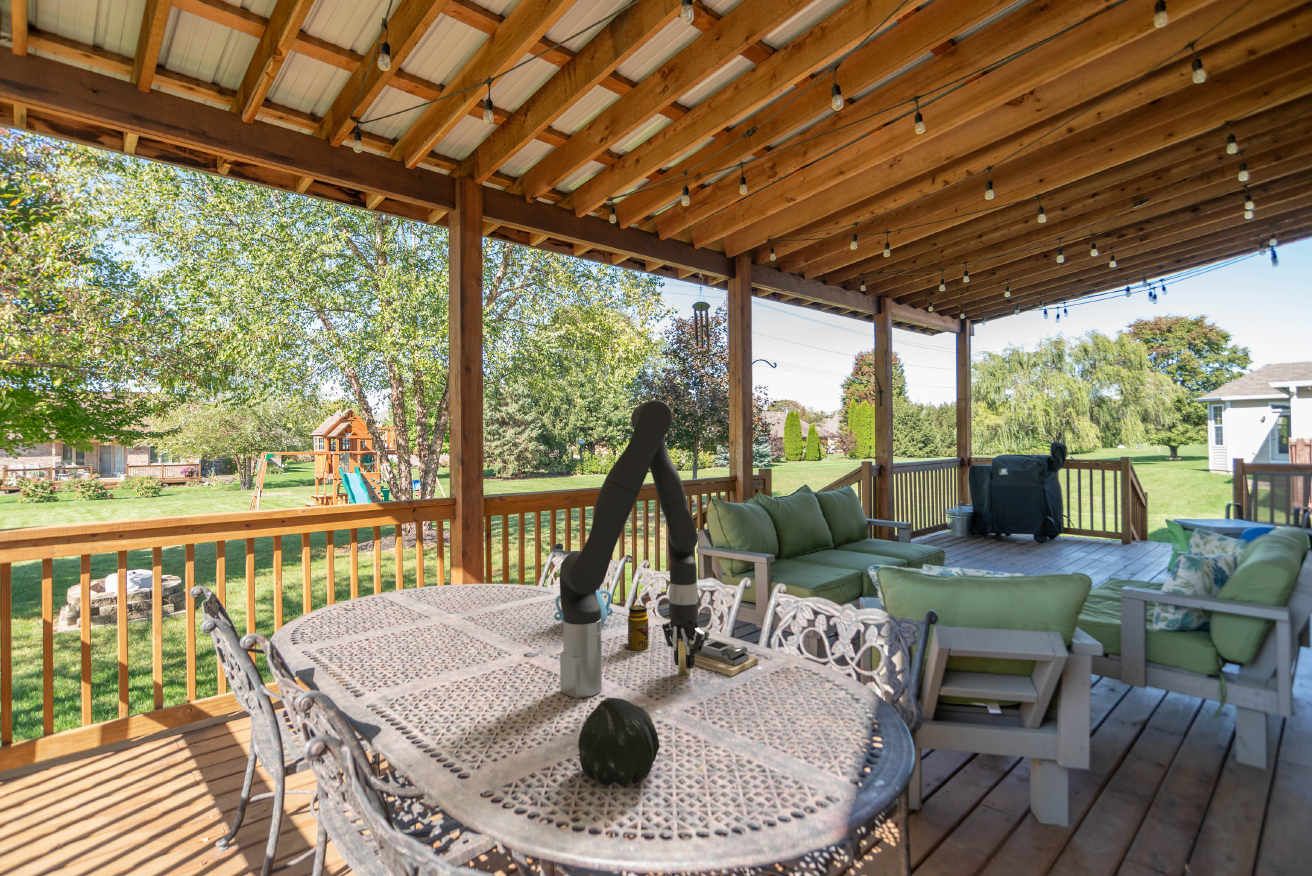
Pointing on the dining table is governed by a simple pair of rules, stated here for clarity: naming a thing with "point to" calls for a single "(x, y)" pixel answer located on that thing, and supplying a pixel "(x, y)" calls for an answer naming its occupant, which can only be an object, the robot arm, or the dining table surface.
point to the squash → (618, 743)
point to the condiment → (637, 630)
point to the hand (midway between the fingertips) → (684, 666)
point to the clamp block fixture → (723, 657)
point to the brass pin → (682, 659)
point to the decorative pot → (600, 600)
